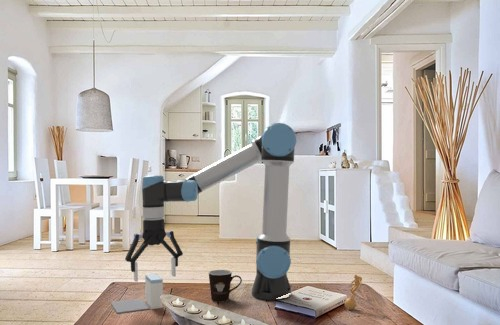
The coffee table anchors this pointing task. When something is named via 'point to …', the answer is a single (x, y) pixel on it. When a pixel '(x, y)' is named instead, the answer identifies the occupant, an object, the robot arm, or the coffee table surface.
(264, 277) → the robot arm
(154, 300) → the slab
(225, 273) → the coffee mug
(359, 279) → the figurine
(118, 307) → the felt mat
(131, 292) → the coffee table surface
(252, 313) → the coffee table surface
